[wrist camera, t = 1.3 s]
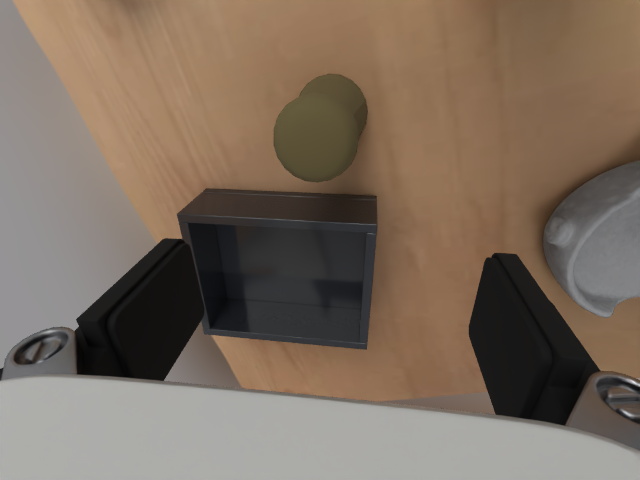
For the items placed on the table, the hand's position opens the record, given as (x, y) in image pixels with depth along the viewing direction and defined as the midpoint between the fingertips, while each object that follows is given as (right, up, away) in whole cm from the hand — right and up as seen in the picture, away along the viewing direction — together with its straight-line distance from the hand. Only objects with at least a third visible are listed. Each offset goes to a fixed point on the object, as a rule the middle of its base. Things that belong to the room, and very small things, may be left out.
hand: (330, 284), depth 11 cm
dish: (+26, +3, +20) cm, 33 cm away
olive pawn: (+1, +12, +18) cm, 22 cm away
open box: (-3, 0, +25) cm, 26 cm away
